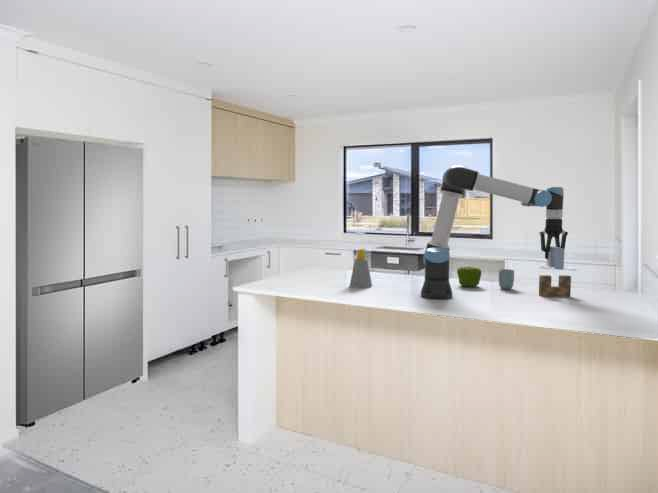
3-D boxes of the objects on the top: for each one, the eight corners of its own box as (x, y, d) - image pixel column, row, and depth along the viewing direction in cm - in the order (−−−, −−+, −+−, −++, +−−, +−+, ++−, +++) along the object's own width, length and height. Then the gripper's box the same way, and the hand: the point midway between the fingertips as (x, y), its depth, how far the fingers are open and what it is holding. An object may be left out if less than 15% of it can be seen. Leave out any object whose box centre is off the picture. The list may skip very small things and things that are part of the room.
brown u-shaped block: (540, 296, 245) (541, 276, 244) (538, 295, 248) (539, 275, 247) (570, 296, 244) (571, 276, 243) (567, 295, 247) (568, 275, 246)
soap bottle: (376, 285, 277) (376, 248, 275) (365, 288, 266) (365, 250, 265) (356, 283, 284) (356, 247, 282) (345, 286, 273) (345, 249, 271)
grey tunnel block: (547, 266, 251) (548, 246, 250) (553, 266, 250) (554, 246, 249) (557, 269, 239) (557, 248, 238) (563, 269, 238) (564, 248, 238)
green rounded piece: (485, 286, 272) (486, 266, 271) (470, 289, 265) (470, 267, 264) (467, 283, 283) (467, 263, 282) (452, 285, 276) (452, 265, 275)
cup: (514, 290, 261) (515, 271, 260) (499, 289, 263) (499, 271, 262) (512, 287, 269) (513, 269, 268) (497, 287, 270) (497, 269, 270)
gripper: (540, 218, 244) (538, 266, 246) (574, 218, 242) (571, 266, 245) (534, 218, 251) (533, 264, 253) (567, 218, 250) (565, 264, 252)
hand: (552, 265), depth 249 cm, fingers closed on grey tunnel block, 3 cm apart
